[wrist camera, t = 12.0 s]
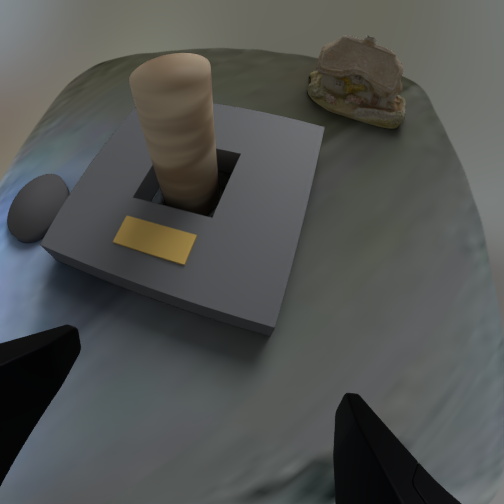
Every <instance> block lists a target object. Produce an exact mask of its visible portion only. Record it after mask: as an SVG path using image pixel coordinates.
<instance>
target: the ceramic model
mask: <svg viewBox="0 0 504 504" xmlns="http://www.w3.org/2000/svg"><path fill="white" fill-rule="evenodd" d="M375 41H376V38H372V37H369V36H366V37H365V40H361V39H359V38H356V37H353V36H342V37H341V38H340V39H338V40H336V41H334V42H332V43H329V44H327V45H325V46H324V47H323V48H322V51H321V53H320V56H319V59H318V63H317V68H316V69H317V71H314V72H312V73H311V74H310V78H311V83H310V84H309V86H308V95H309V96H310V97H311V99H312V100H313V101H315V102H316V103H317V104H319V105H320V106H322V107H323V108H325V109H326V110H328V111H330V112H332V113H335V114H339V115H342V116H345V117H348V118H351V119H354V120H357V121H361V122H364V123H367V124H371V125H375V126H378V127H382V128H390V129H394V128H397V127H398V126H399V125H400V124H401V123H402V122H403V120H404V119H405V109H406V102H405V99H404V98H403V97H401V98H400V96H399V95H397V94H398V93H400V92H401V91H402V83H401V77H402V74H403V68H402V63H400V61H399V60H398V59H397V57H396V55H395V53H394V52H393V51H391V50H390V49H387V48H385V47H382V46H379V45H376V44H375Z"/></svg>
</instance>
